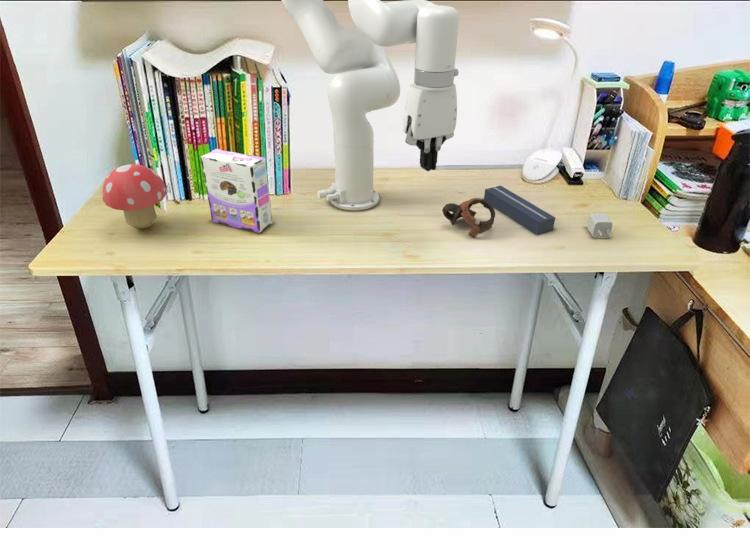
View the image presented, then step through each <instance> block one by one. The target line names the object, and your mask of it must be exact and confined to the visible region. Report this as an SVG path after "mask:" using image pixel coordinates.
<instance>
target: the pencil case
mask: <svg viewBox="0 0 750 552" xmlns="http://www.w3.org/2000/svg"><path fill="white" fill-rule="evenodd" d="M483 199H484V200H486V201H488V202H489V203H490V204H491V205H492V206H493V208H494V209H496V210H498V211H499V212H501V213H502V214H504V215H505V216H507V217H509V218H510V219H512V220H514V221H515V222H517V223H518V224H520V225H521V226H523V227H524V228H526V229H527V230H529V231H530V232H532V233H534V234H535V235H540V234H544V233H547V232H550V231H553V230H554V227H555V223H556V217H555V216H553V215H552V214H550V213H549V212H547V211H545V210H544V209H541V208H540V207H539V206H537V205H535V204H533V203H532V202H530V201H528V200H527V199H525V198H524V197H521V196H519V195H518V194H516V193H514V192H513V191H511V190H509V189H508V188H506V187H504V186H502V185H497V186H493V187H489V188H485V189H484V196H483Z"/></svg>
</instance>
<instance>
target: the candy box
mask: <svg viewBox="0 0 750 552" xmlns="http://www.w3.org/2000/svg"><path fill="white" fill-rule="evenodd" d="M200 161H201V166H202V167H201V168H202V173H203V178H204V183H205V184H204V185H205V188H206V194H207V201H208V204H209V205H208V206H209V212H210V217H211V222H212V223H217V224H221V225H224V226H229V227H233V228H237V229H241V230H244V231H245V230H246V231H249V232H253V233H257V234H261V232H264V230H265V229H267V228H268V227H270V226H271V225H272V224H273V215H272V214H273V213H272V205H271V196H270V186H269V185H270V184H269V176H268V167H267V159H266V157H262V156H258V155H257V156H256V155H251V154H245V153H241V152H240V153H239V152H235V151H229V150H224V149H220V148H215V149H213V150H211V151H209V152H207V153H205V154H203V155H201V156H200Z"/></svg>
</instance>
